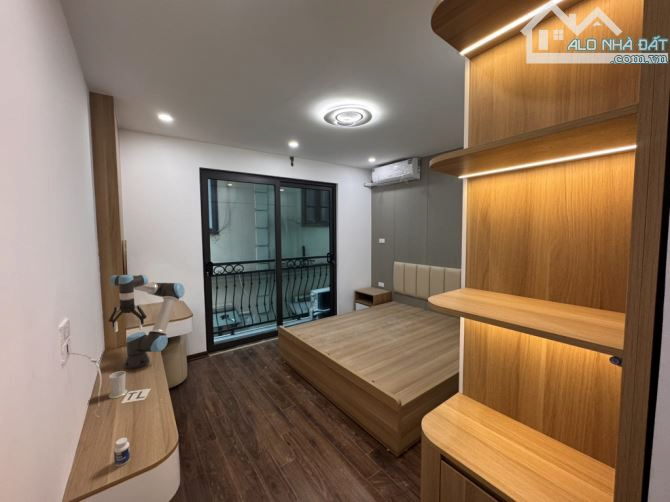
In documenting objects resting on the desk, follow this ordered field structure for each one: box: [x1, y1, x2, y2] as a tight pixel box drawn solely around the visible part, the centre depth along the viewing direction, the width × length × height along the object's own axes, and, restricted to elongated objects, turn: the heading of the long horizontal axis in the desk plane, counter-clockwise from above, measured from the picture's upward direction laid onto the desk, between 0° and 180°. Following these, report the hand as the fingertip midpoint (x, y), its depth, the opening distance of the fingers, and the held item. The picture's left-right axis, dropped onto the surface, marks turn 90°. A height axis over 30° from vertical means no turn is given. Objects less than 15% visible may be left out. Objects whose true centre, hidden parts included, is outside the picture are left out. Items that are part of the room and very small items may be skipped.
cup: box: [108, 370, 127, 396], centre depth 168 cm, size 8×8×12 cm
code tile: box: [120, 388, 152, 404], centre depth 168 cm, size 12×12×1 cm
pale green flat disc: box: [108, 388, 129, 400], centre depth 169 cm, size 9×9×1 cm
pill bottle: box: [113, 437, 131, 467], centre depth 120 cm, size 5×5×10 cm
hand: (128, 330), depth 181 cm, fingers open, 13 cm apart
